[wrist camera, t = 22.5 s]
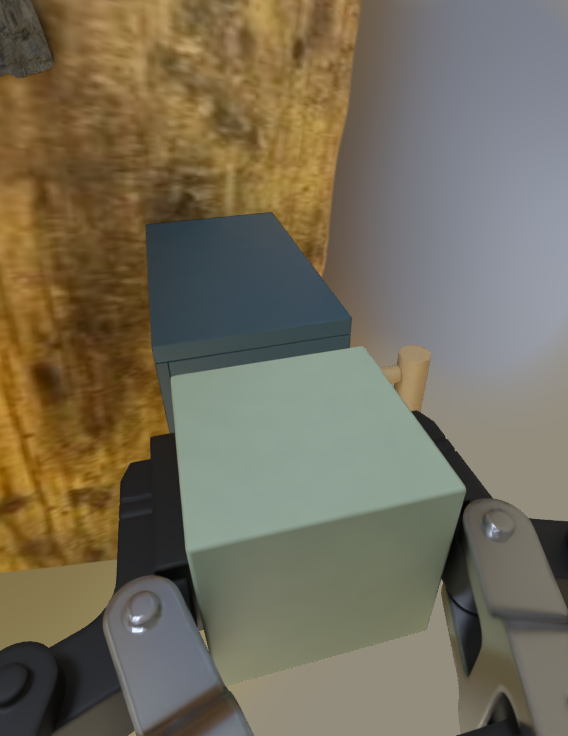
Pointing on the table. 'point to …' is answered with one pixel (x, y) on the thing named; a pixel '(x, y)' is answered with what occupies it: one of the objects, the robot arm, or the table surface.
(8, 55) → the grey cloth
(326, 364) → the block
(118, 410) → the table surface
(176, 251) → the shelf
